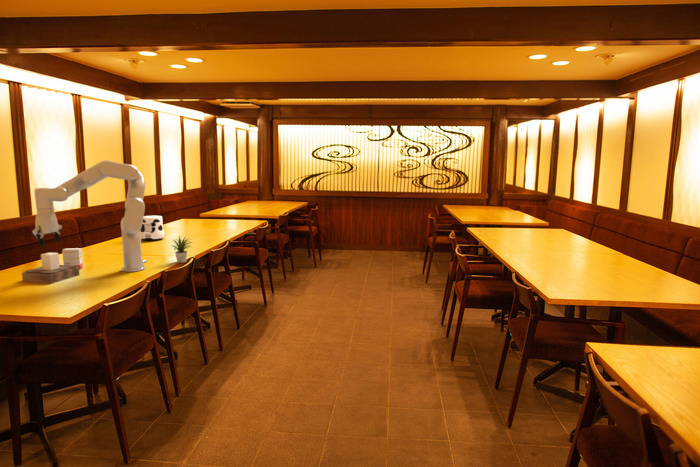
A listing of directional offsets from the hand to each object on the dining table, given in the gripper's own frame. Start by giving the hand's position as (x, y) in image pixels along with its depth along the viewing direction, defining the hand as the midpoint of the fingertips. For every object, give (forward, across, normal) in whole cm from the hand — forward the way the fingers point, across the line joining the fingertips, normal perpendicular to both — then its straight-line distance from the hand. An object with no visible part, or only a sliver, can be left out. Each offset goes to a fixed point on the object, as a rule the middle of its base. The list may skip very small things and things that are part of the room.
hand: (49, 243), depth 240 cm
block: (+13, 0, 0) cm, 13 cm away
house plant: (+20, -50, +44) cm, 70 cm away
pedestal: (+18, +1, -1) cm, 19 cm away
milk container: (+20, -112, -20) cm, 116 cm away
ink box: (+19, -19, -6) cm, 28 cm away
